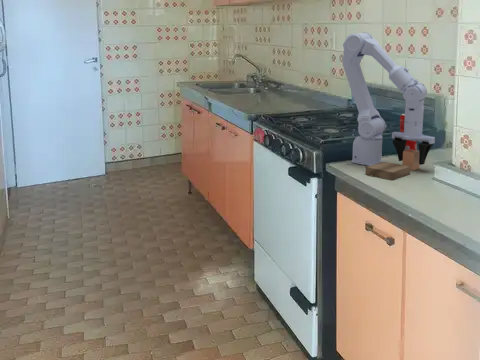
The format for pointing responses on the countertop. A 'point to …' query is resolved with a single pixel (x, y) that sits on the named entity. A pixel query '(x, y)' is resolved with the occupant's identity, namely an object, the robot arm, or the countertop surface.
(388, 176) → the walnut base
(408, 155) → the terracotta block
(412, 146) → the beverage can
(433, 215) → the countertop surface
